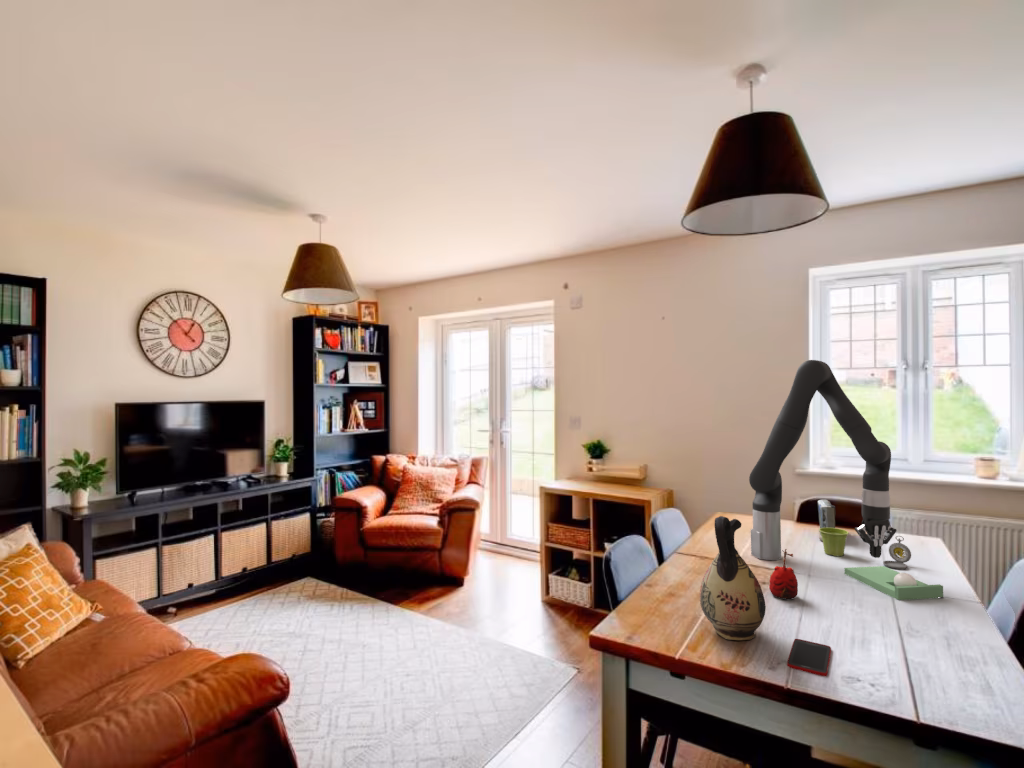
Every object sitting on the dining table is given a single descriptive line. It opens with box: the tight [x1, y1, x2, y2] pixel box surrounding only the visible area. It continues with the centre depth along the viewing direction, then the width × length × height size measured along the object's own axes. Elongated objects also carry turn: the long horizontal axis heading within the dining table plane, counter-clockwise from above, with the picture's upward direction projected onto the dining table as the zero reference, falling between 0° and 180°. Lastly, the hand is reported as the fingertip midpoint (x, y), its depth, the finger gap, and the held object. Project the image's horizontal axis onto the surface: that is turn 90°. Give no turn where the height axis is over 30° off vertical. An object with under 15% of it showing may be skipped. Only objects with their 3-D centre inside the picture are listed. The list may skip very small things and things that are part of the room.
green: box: [843, 565, 944, 601], centre depth 162 cm, size 14×22×4 cm, turn 4°
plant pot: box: [818, 527, 849, 557], centre depth 194 cm, size 9×9×9 cm
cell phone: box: [786, 638, 832, 677], centre depth 119 cm, size 8×15×1 cm, turn 145°
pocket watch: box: [882, 535, 912, 570], centre depth 179 cm, size 8×8×10 cm
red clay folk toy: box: [768, 548, 799, 600], centre depth 155 cm, size 8×7×15 cm
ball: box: [894, 572, 917, 586], centre depth 157 cm, size 6×6×6 cm
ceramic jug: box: [699, 515, 767, 649], centre depth 132 cm, size 17×15×30 cm
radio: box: [817, 498, 837, 542], centre depth 218 cm, size 23×9×15 cm, turn 145°
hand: (875, 556), depth 168 cm, fingers closed
